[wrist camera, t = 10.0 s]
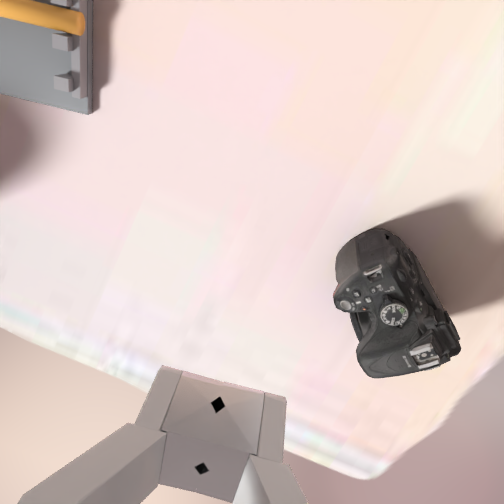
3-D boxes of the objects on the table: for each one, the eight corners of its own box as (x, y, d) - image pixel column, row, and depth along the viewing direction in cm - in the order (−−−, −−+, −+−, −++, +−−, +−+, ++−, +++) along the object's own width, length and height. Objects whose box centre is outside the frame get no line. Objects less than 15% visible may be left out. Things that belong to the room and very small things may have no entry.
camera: (305, 282, 41) (303, 348, 33) (371, 210, 37) (390, 265, 28) (403, 346, 44) (425, 424, 35) (477, 286, 39) (524, 359, 31)
